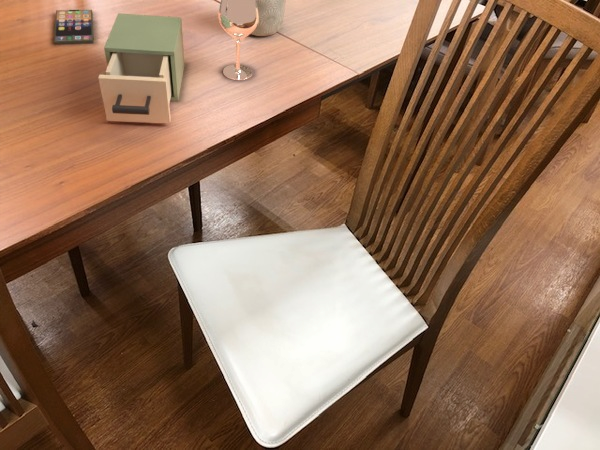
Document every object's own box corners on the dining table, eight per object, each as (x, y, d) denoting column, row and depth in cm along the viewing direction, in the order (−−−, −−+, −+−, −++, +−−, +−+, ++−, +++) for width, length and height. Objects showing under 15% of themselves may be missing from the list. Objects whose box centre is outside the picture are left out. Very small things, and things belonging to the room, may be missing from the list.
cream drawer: (167, 139, 91) (162, 96, 85) (101, 136, 90) (91, 93, 84) (177, 85, 104) (173, 44, 98) (119, 82, 103) (112, 41, 96)
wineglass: (241, 60, 116) (243, -22, 103) (263, 76, 112) (268, -8, 99) (211, 69, 111) (209, -15, 98) (233, 86, 107) (234, 1, 95)
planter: (230, 37, 123) (230, -9, 115) (238, 15, 131) (238, -29, 124) (281, 43, 123) (284, -2, 115) (285, 21, 132) (289, -23, 124)
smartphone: (54, 44, 112) (53, 39, 111) (57, 14, 122) (56, 9, 121) (93, 43, 114) (92, 38, 113) (92, 14, 124) (91, 9, 123)
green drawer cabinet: (178, 101, 102) (174, 51, 94) (113, 98, 100) (103, 47, 92) (184, 64, 112) (181, 17, 104) (125, 61, 110) (118, 13, 103)
